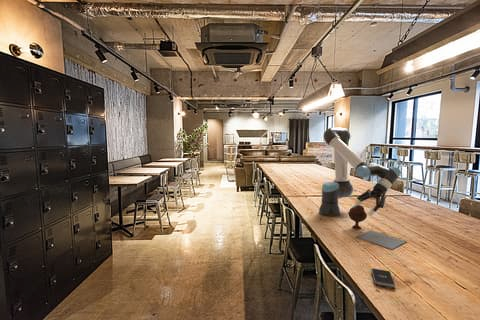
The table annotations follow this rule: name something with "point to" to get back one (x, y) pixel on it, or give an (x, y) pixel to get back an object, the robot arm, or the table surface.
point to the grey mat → (381, 239)
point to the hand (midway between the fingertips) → (361, 211)
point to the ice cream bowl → (357, 215)
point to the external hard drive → (383, 278)
